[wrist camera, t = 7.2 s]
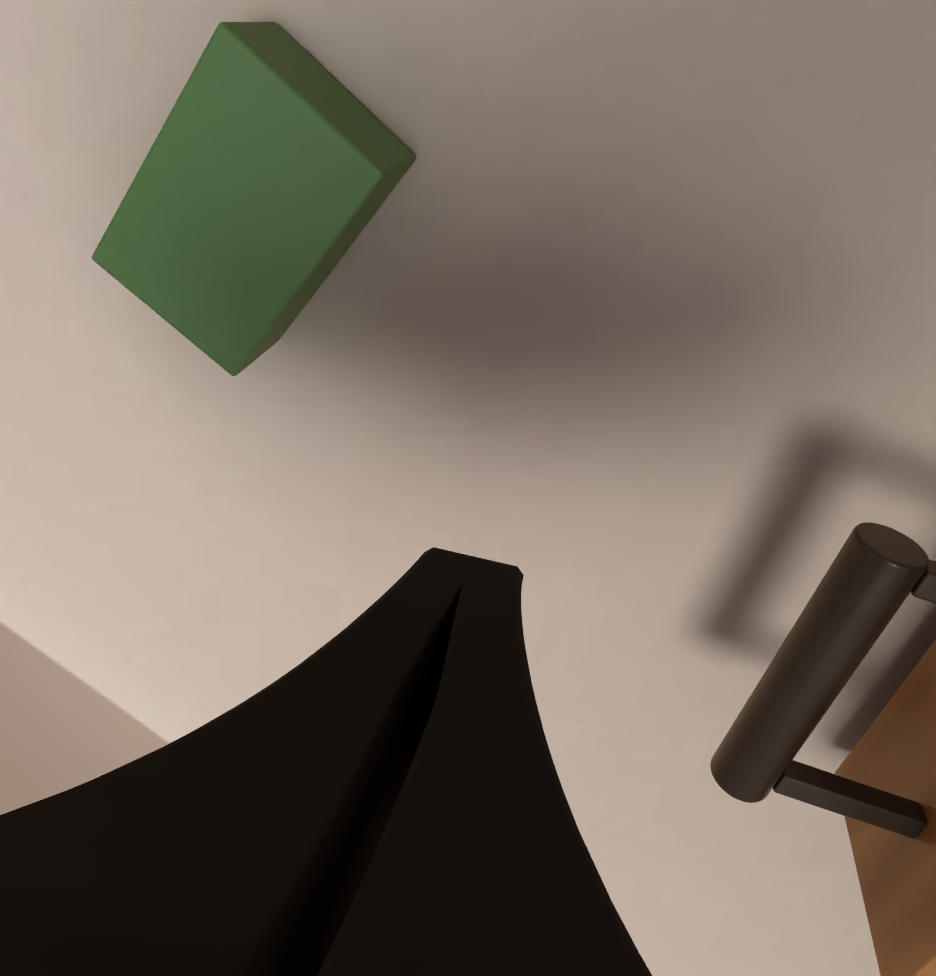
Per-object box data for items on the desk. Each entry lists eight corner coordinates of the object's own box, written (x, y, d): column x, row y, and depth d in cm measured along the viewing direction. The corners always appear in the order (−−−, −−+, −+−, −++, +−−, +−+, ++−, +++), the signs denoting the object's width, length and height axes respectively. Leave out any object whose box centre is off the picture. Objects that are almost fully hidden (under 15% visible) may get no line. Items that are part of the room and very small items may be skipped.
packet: (274, 20, 17) (218, 20, 15) (418, 156, 18) (384, 174, 16) (150, 233, 20) (88, 258, 18) (277, 342, 21) (233, 378, 19)
